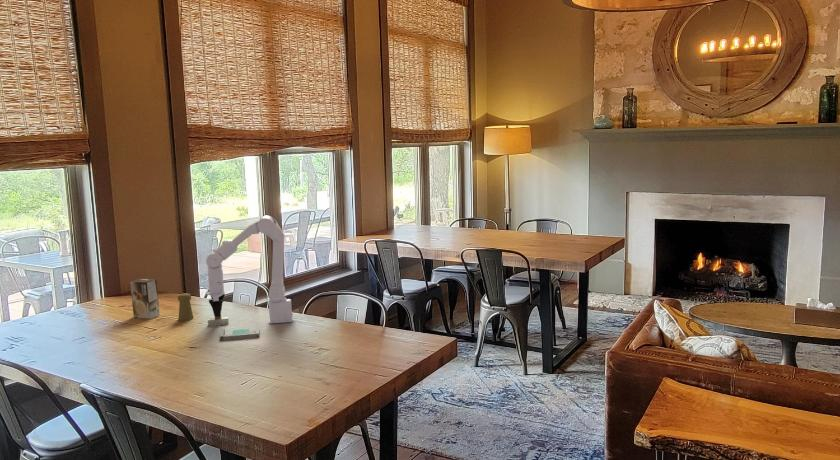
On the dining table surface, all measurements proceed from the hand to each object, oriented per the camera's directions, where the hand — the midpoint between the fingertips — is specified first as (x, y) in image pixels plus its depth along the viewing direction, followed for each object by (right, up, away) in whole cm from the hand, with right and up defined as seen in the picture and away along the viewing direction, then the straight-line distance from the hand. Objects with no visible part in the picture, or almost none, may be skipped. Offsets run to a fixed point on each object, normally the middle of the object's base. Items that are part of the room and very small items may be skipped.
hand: (218, 313), depth 261 cm
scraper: (0, -4, +1) cm, 5 cm away
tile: (+13, -7, -13) cm, 19 cm away
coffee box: (-35, -3, +13) cm, 38 cm away
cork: (-16, -4, +9) cm, 19 cm away
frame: (+13, -6, -13) cm, 19 cm away
